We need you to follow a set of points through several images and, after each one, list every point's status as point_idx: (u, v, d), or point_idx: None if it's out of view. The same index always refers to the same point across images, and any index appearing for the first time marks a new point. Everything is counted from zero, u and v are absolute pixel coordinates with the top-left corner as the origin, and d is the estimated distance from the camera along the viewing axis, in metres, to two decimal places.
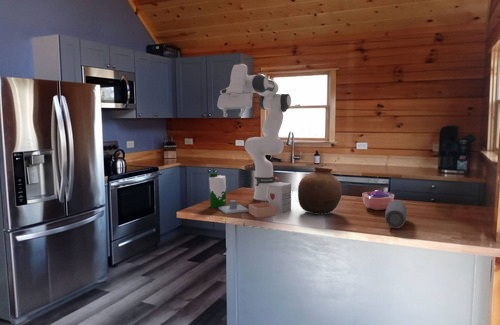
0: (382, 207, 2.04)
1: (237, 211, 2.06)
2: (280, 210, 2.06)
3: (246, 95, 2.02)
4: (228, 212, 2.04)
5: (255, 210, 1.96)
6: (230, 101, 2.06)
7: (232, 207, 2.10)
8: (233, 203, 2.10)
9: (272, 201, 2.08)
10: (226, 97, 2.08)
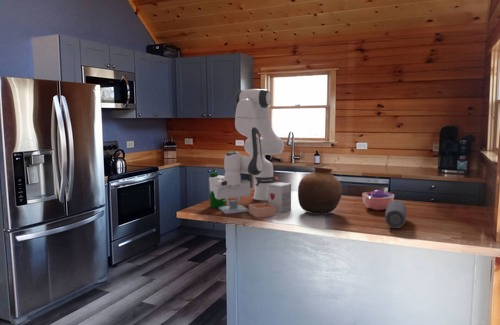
0: (382, 207, 2.04)
1: (237, 211, 2.06)
2: (280, 210, 2.06)
3: (246, 185, 2.11)
4: (228, 212, 2.04)
5: (255, 210, 1.96)
6: (230, 192, 2.08)
7: (232, 207, 2.10)
8: (233, 203, 2.10)
9: (272, 201, 2.08)
10: (225, 188, 2.07)
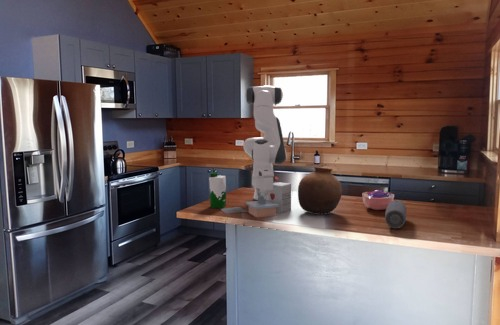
0: (382, 207, 2.04)
1: None
2: (280, 210, 2.06)
3: None
4: None
5: (255, 210, 1.96)
6: None
7: None
8: None
9: (272, 201, 2.08)
10: None
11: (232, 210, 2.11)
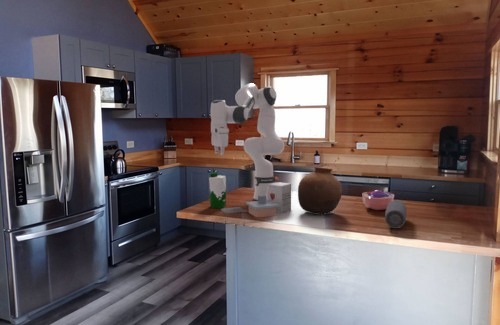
0: (382, 207, 2.04)
1: None
2: (280, 210, 2.06)
3: None
4: None
5: (255, 210, 1.96)
6: None
7: None
8: None
9: (272, 201, 2.08)
10: None
11: (232, 210, 2.11)
